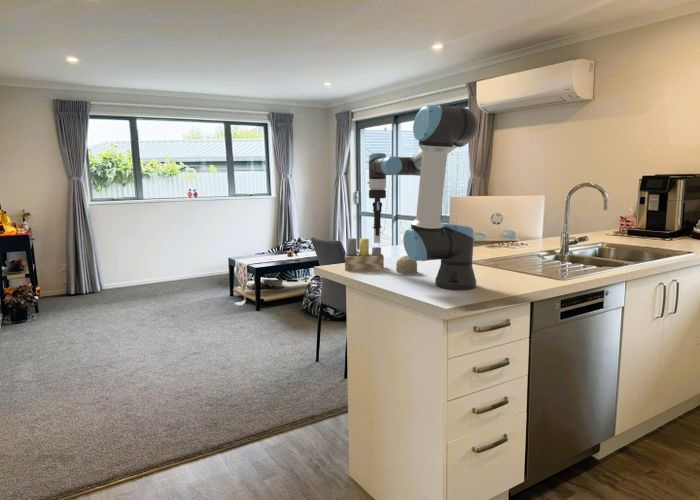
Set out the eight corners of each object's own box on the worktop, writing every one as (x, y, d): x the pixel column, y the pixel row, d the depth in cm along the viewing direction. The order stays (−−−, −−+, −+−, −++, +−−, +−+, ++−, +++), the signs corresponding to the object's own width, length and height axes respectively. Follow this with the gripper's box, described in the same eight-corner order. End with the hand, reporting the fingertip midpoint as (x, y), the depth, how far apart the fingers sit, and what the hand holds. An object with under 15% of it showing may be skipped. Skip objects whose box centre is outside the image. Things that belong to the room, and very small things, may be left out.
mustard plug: (370, 259, 209) (370, 239, 207) (362, 259, 207) (362, 239, 205) (365, 257, 212) (366, 238, 211) (358, 258, 210) (358, 238, 209)
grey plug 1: (357, 259, 209) (358, 239, 207) (349, 259, 207) (349, 239, 205) (353, 257, 212) (353, 238, 211) (345, 258, 210) (345, 238, 209)
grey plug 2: (382, 267, 209) (382, 248, 208) (374, 268, 207) (374, 248, 206) (377, 266, 213) (378, 246, 211) (370, 267, 211) (370, 247, 209)
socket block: (382, 266, 214) (382, 253, 213) (383, 270, 206) (383, 256, 205) (345, 266, 214) (345, 253, 213) (344, 270, 206) (345, 256, 205)
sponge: (403, 283, 198) (415, 266, 193) (388, 268, 202) (399, 251, 197) (414, 280, 205) (426, 263, 201) (399, 265, 209) (411, 248, 204)
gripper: (368, 189, 211) (368, 241, 214) (369, 189, 198) (369, 244, 201) (385, 189, 211) (384, 241, 214) (387, 189, 198) (386, 244, 201)
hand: (377, 242), depth 208 cm, fingers closed
